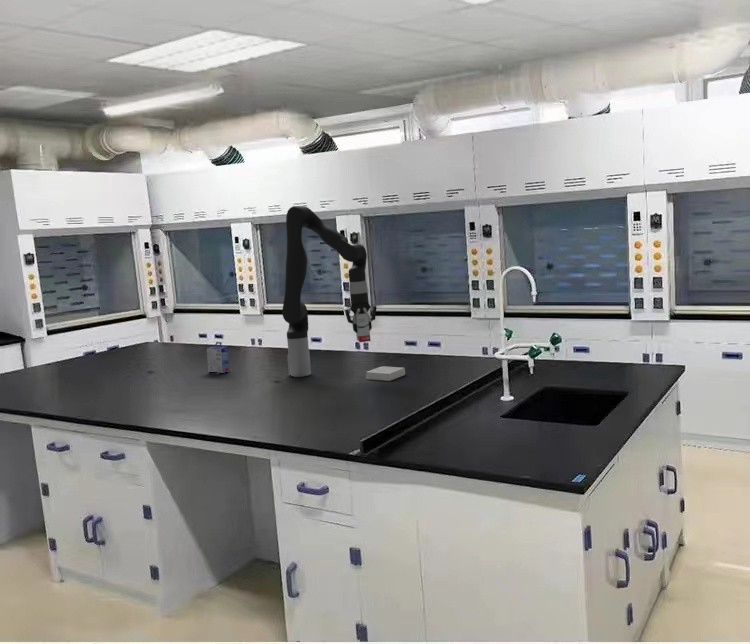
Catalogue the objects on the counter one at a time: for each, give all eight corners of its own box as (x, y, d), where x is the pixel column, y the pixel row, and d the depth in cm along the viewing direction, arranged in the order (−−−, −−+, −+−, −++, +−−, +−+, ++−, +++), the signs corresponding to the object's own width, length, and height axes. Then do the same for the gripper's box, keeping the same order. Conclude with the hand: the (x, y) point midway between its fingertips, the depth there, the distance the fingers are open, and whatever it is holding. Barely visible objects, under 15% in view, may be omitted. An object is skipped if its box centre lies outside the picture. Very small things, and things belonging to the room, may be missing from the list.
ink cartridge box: (231, 371, 351) (228, 341, 349) (223, 374, 346) (220, 344, 344) (216, 370, 356) (213, 341, 354) (208, 373, 351) (205, 343, 349)
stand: (366, 379, 312) (365, 372, 312) (382, 372, 322) (381, 366, 322) (389, 380, 305) (389, 373, 305) (405, 374, 315) (404, 367, 315)
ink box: (370, 341, 309) (368, 313, 307) (359, 342, 308) (356, 314, 306) (367, 338, 317) (365, 311, 316) (356, 339, 316) (353, 312, 315)
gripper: (372, 289, 315) (376, 328, 317) (340, 293, 312) (344, 332, 314) (377, 290, 308) (381, 330, 310) (344, 294, 304) (348, 334, 307)
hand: (362, 331), depth 312 cm, fingers closed on ink box, 5 cm apart
